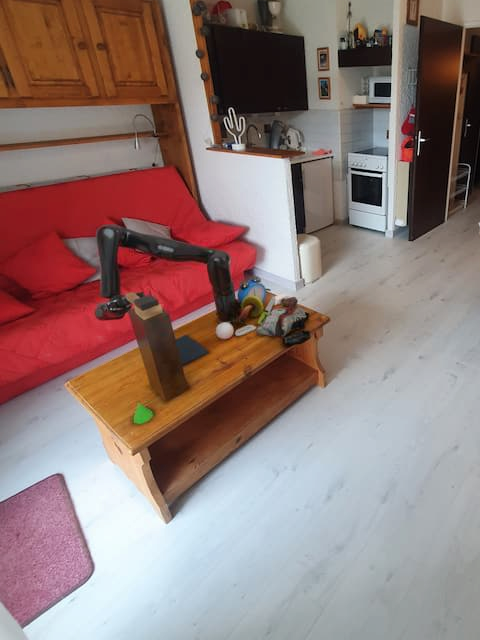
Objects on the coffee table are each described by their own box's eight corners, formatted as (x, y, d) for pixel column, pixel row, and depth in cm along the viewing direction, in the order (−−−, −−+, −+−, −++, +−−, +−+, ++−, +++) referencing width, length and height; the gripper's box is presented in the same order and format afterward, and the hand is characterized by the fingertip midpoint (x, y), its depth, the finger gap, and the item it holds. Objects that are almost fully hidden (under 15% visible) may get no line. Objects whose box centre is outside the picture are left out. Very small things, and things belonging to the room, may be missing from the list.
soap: (237, 338, 166) (237, 336, 166) (232, 332, 169) (232, 331, 168) (257, 329, 172) (257, 327, 172) (252, 324, 175) (252, 322, 174)
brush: (139, 295, 133) (135, 282, 131) (163, 312, 123) (159, 299, 121) (120, 301, 129) (116, 288, 127) (143, 320, 119) (139, 306, 117)
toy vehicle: (273, 301, 189) (268, 299, 191) (273, 306, 190) (268, 303, 192) (292, 293, 197) (287, 290, 199) (292, 297, 198) (287, 295, 200)
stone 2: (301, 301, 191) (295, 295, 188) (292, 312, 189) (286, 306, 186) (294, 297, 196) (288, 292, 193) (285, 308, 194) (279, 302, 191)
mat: (186, 336, 166) (186, 334, 166) (208, 353, 156) (208, 351, 155) (159, 349, 158) (158, 347, 158) (180, 367, 148) (179, 365, 147)
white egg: (217, 320, 160) (219, 319, 167) (212, 337, 159) (214, 336, 166) (241, 326, 162) (242, 325, 170) (236, 343, 162) (237, 341, 169)
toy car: (282, 344, 158) (285, 351, 160) (309, 335, 159) (312, 341, 161) (282, 336, 163) (285, 343, 165) (308, 327, 164) (311, 334, 166)
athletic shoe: (283, 314, 154) (302, 337, 156) (301, 294, 177) (317, 314, 179) (261, 330, 157) (279, 352, 159) (282, 308, 181) (297, 327, 183)
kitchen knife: (278, 298, 193) (272, 296, 193) (278, 296, 193) (273, 294, 192) (262, 326, 175) (256, 324, 175) (263, 324, 174) (256, 322, 174)
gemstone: (147, 407, 129) (142, 394, 126) (157, 415, 126) (152, 401, 123) (129, 418, 125) (124, 405, 122) (139, 426, 122) (134, 413, 119)
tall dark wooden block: (172, 375, 144) (152, 301, 130) (188, 389, 137) (169, 313, 123) (150, 386, 138) (127, 310, 124) (166, 402, 131) (143, 323, 117)
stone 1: (291, 311, 184) (271, 309, 185) (290, 305, 182) (271, 303, 184) (275, 340, 165) (254, 337, 167) (274, 334, 164) (252, 331, 165)
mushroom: (226, 299, 168) (241, 293, 182) (227, 327, 170) (241, 318, 184) (253, 301, 166) (265, 294, 181) (253, 328, 168) (266, 320, 183)
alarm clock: (246, 313, 184) (242, 285, 177) (238, 309, 187) (234, 282, 180) (267, 302, 193) (264, 276, 186) (259, 299, 196) (256, 272, 190)
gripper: (92, 304, 141) (100, 297, 129) (133, 290, 151) (143, 282, 139) (101, 322, 142) (109, 317, 130) (141, 307, 152) (152, 301, 140)
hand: (127, 299), depth 135 cm, fingers open, 8 cm apart
